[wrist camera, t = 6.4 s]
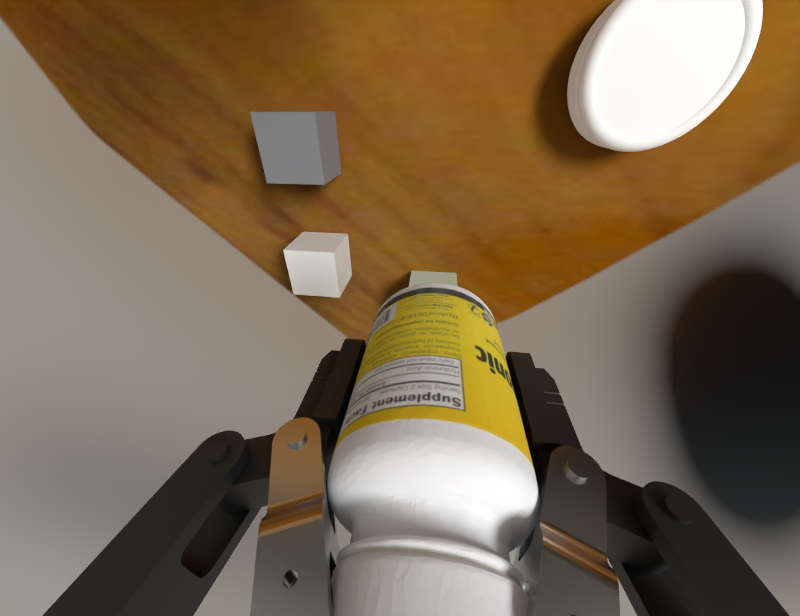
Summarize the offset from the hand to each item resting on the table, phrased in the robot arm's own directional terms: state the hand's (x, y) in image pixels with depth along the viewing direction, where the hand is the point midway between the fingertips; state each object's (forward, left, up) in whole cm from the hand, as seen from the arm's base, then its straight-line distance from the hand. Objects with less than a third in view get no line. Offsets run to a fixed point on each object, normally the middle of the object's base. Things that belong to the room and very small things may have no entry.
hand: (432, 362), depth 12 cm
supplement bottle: (0, 0, -2) cm, 2 cm away
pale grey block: (+6, -12, -21) cm, 25 cm away
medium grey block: (-5, -12, -21) cm, 25 cm away
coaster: (-10, +14, -22) cm, 28 cm away
